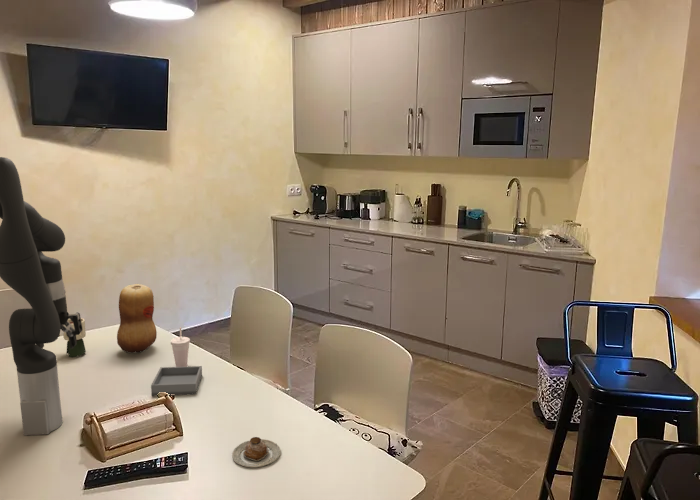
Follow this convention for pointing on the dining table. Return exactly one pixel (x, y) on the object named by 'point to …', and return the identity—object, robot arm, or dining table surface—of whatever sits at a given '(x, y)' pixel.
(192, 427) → the dining table surface
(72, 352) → the character mug
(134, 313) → the butternut squash
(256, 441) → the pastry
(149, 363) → the dining table surface
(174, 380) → the bin
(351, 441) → the dining table surface
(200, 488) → the dining table surface
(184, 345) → the smoothie
